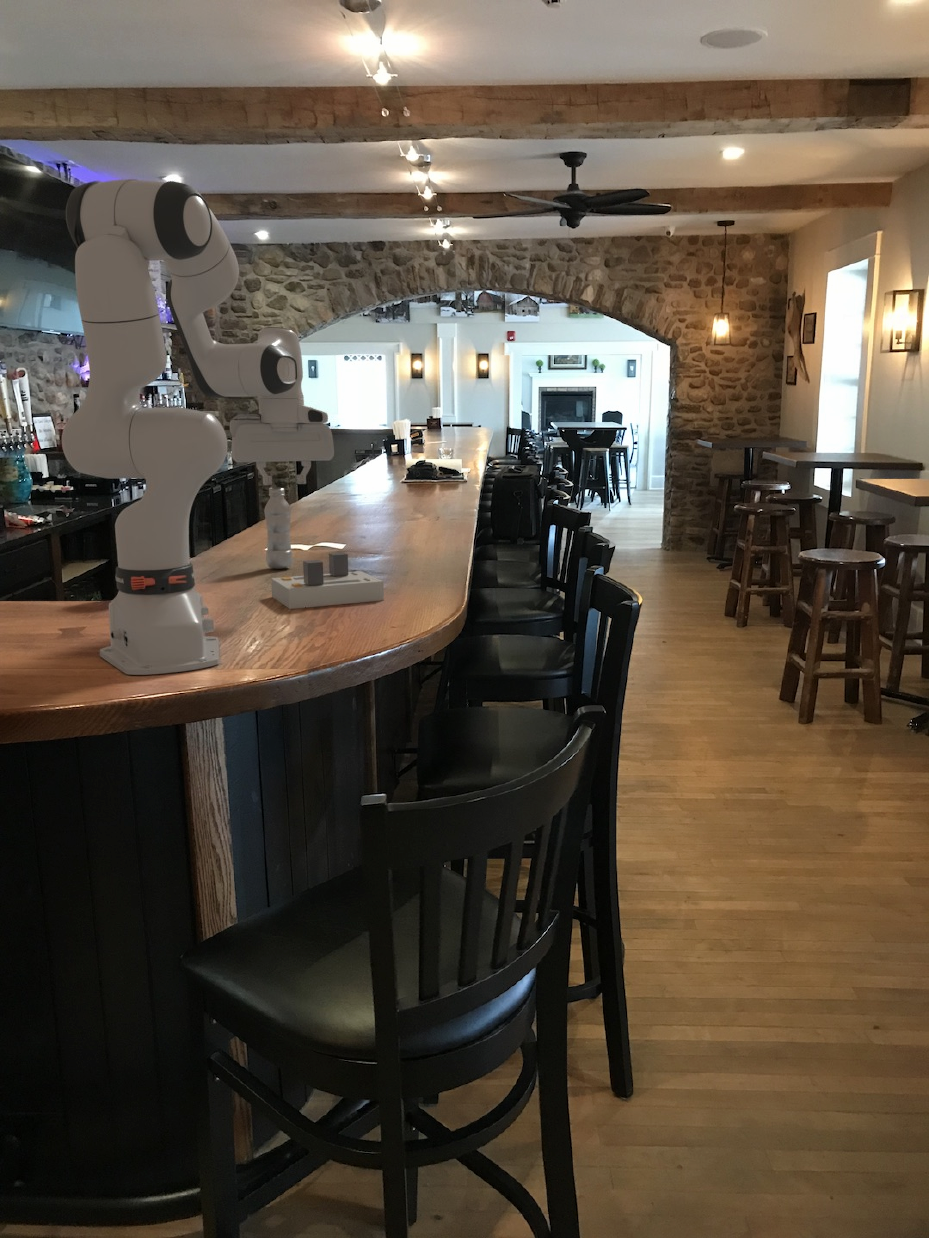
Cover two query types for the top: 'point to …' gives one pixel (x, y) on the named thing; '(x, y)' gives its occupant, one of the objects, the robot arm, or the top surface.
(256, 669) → the top surface
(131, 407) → the robot arm
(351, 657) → the top surface
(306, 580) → the near tab
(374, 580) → the switch housing
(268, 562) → the plastic bottle
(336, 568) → the far tab
